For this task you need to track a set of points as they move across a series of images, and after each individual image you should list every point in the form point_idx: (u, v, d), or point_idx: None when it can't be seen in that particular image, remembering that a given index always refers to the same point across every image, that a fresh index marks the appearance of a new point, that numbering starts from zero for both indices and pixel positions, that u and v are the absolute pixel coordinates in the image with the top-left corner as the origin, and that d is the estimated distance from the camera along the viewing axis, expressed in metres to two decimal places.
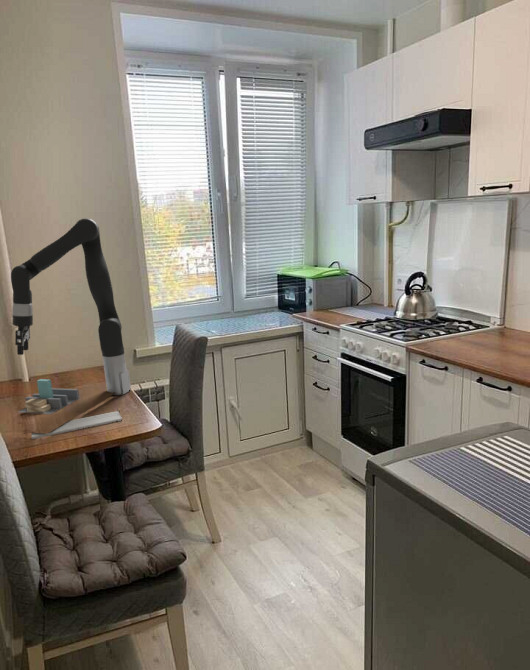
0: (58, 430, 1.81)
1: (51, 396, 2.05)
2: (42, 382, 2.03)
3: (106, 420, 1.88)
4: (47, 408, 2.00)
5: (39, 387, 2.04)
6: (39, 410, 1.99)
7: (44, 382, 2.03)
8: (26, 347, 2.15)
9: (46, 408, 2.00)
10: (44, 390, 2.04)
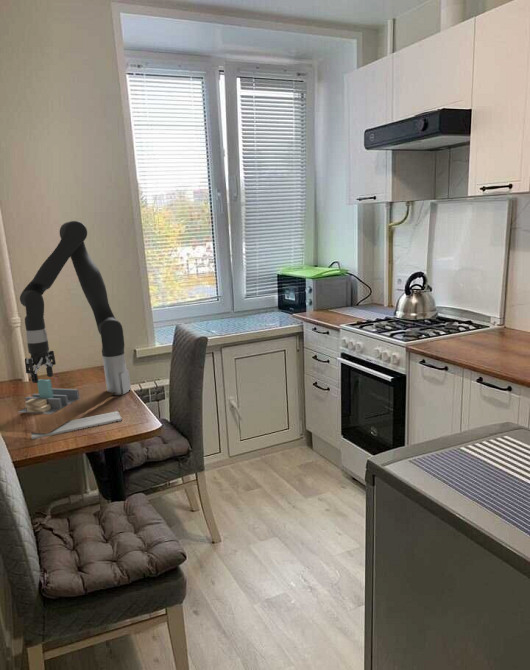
0: (58, 430, 1.81)
1: (51, 396, 2.05)
2: (42, 382, 2.03)
3: (106, 420, 1.88)
4: (47, 408, 2.00)
5: (39, 387, 2.04)
6: (39, 410, 1.99)
7: (44, 382, 2.03)
8: (50, 374, 2.07)
9: (46, 408, 2.00)
10: (44, 390, 2.04)
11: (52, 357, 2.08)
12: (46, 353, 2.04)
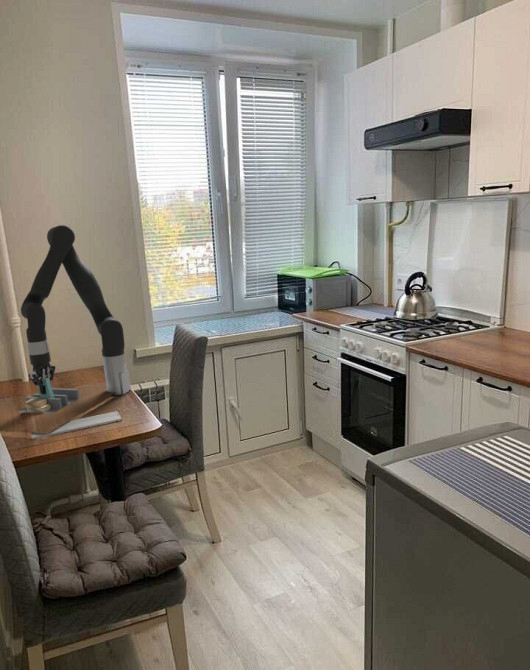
0: (58, 430, 1.81)
1: (51, 394, 2.05)
2: (41, 381, 2.03)
3: (106, 420, 1.88)
4: (47, 408, 2.00)
5: None
6: (39, 410, 1.99)
7: None
8: None
9: (46, 408, 2.00)
10: None
11: (52, 371, 2.07)
12: (48, 363, 2.05)
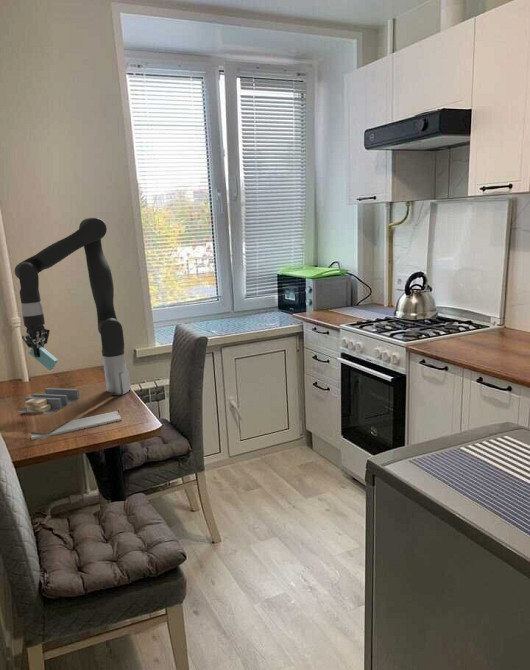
0: (58, 430, 1.81)
1: (48, 354, 2.00)
2: (32, 349, 2.01)
3: (106, 420, 1.88)
4: (47, 408, 2.00)
5: None
6: (39, 410, 1.99)
7: None
8: None
9: (46, 408, 2.00)
10: None
11: (46, 335, 2.04)
12: (43, 326, 2.02)
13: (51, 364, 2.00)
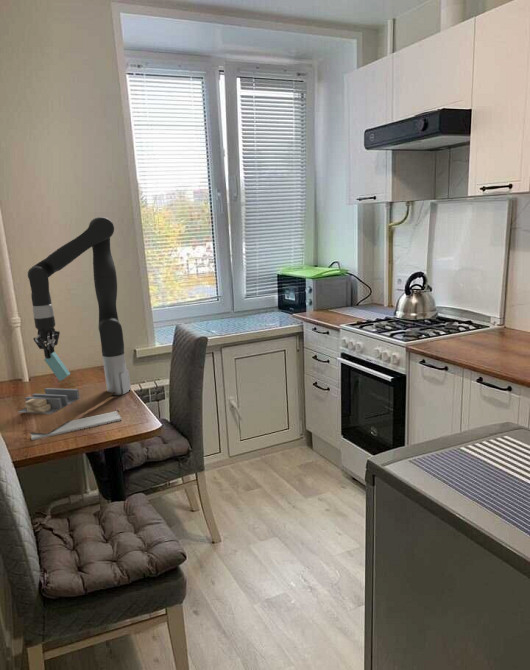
0: (58, 431, 1.81)
1: (63, 366, 2.07)
2: None
3: (106, 420, 1.88)
4: (47, 408, 2.00)
5: (49, 364, 2.07)
6: (39, 410, 1.99)
7: None
8: None
9: (46, 408, 2.00)
10: (54, 363, 2.07)
11: (56, 336, 2.10)
12: (53, 328, 2.08)
13: (63, 376, 2.07)
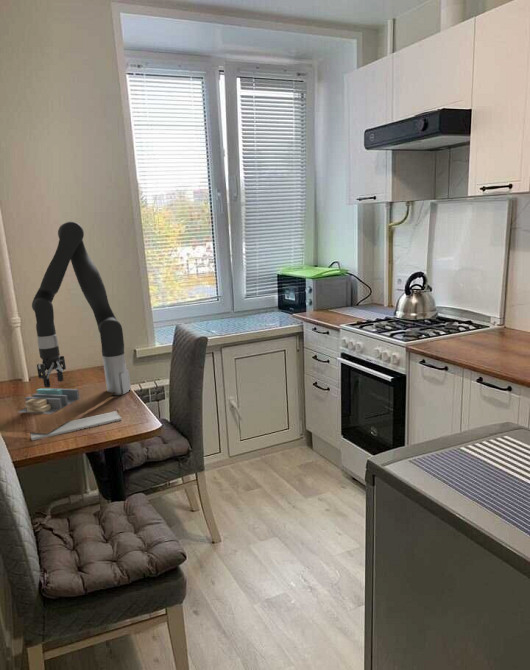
0: (58, 431, 1.80)
1: (51, 389, 2.11)
2: None
3: (105, 420, 1.88)
4: (47, 408, 2.00)
5: None
6: (39, 410, 1.99)
7: (38, 393, 2.12)
8: (60, 378, 2.13)
9: (46, 408, 2.00)
10: None
11: (62, 362, 2.13)
12: (57, 358, 2.10)
13: None
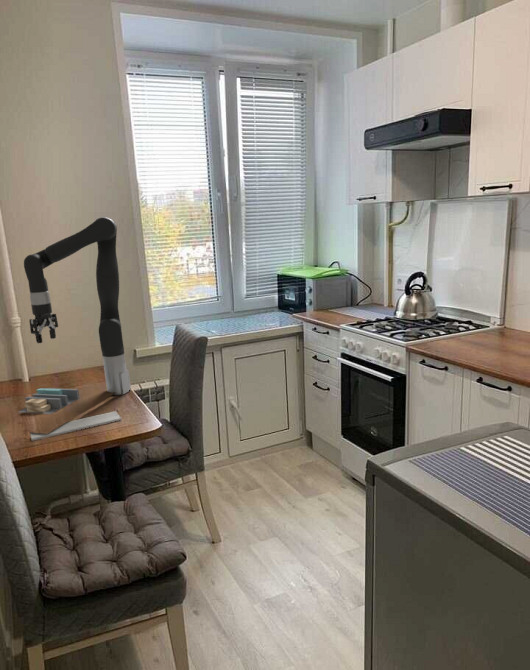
0: (58, 431, 1.80)
1: (51, 389, 2.11)
2: None
3: (105, 420, 1.88)
4: (47, 408, 2.00)
5: None
6: (39, 410, 1.99)
7: (38, 393, 2.12)
8: (53, 335, 2.17)
9: (46, 408, 2.00)
10: None
11: (55, 320, 2.17)
12: (49, 315, 2.14)
13: None
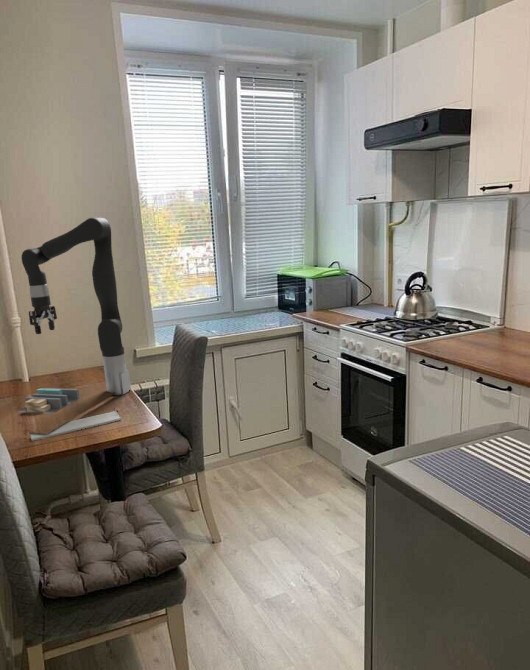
0: (58, 431, 1.80)
1: (51, 389, 2.11)
2: None
3: (105, 420, 1.88)
4: (47, 408, 2.00)
5: None
6: (39, 410, 1.99)
7: (38, 393, 2.12)
8: (52, 327, 2.26)
9: (46, 408, 2.00)
10: None
11: (53, 312, 2.26)
12: (48, 307, 2.22)
13: None
